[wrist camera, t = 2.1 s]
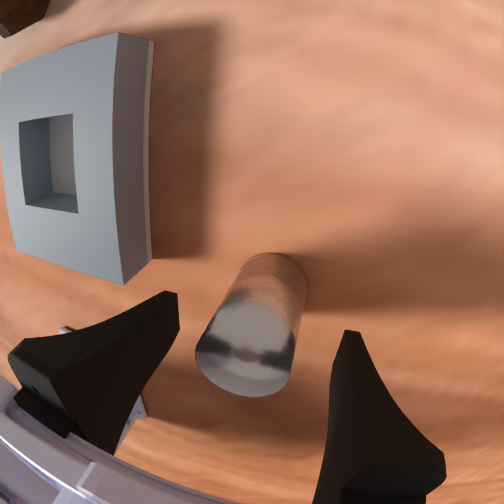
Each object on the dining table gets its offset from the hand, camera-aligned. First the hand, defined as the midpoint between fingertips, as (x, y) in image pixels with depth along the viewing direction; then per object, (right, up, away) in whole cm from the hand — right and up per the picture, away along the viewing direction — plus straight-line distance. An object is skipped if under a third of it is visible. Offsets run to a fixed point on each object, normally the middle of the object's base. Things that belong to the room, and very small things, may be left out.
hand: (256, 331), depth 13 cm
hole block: (-10, +9, +3) cm, 14 cm away
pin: (+1, +2, +4) cm, 4 cm away
